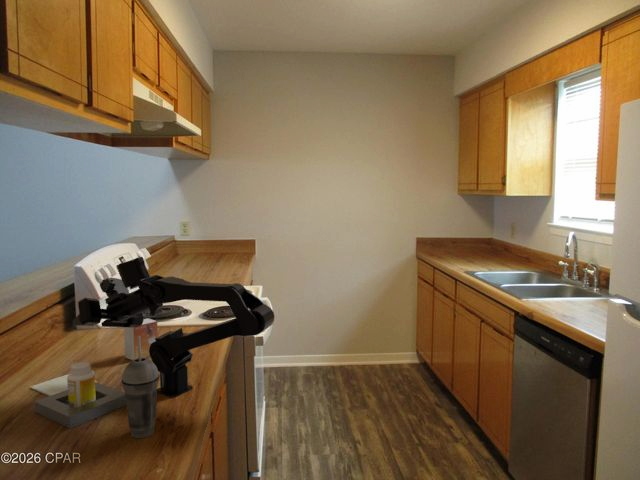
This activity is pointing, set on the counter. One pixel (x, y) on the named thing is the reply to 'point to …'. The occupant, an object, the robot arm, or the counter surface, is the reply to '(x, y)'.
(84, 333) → the counter surface
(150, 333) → the small box
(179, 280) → the robot arm
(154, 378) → the beverage cup
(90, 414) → the frame
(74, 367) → the supplement bottle
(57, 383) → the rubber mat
